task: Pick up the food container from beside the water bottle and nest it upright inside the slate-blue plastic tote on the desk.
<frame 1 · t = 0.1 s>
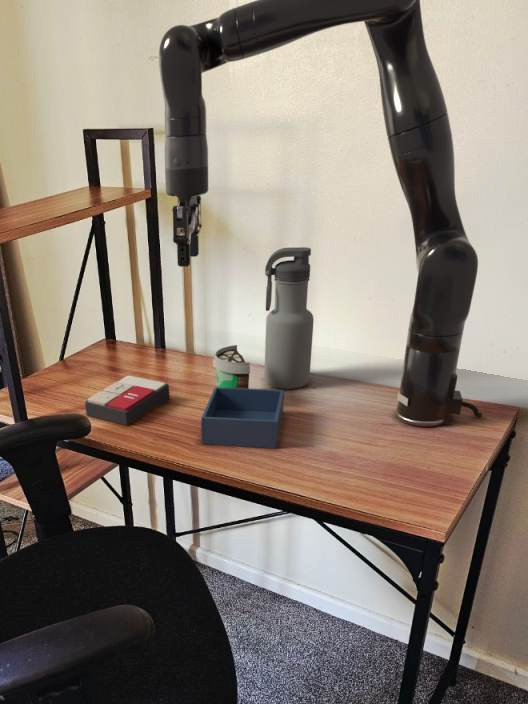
hand: (188, 261, 131), 29 cm above the table, tool pointing down, fingers open, 8 cm apart
calculator: (128, 408, 148), on the table
water bottle: (285, 383, 156), on the table
food container: (227, 401, 148), on the table
tote: (243, 429, 136), on the table
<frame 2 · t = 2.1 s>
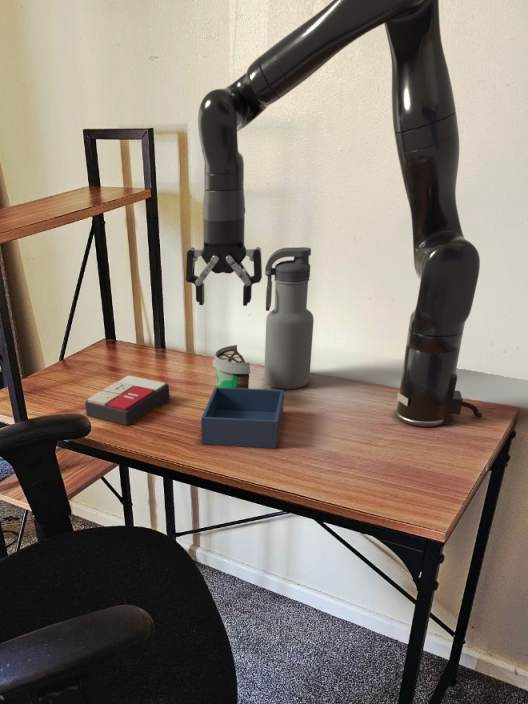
hand: (223, 304, 138), 20 cm above the table, tool pointing down, fingers open, 8 cm apart
nothing on the table moved.
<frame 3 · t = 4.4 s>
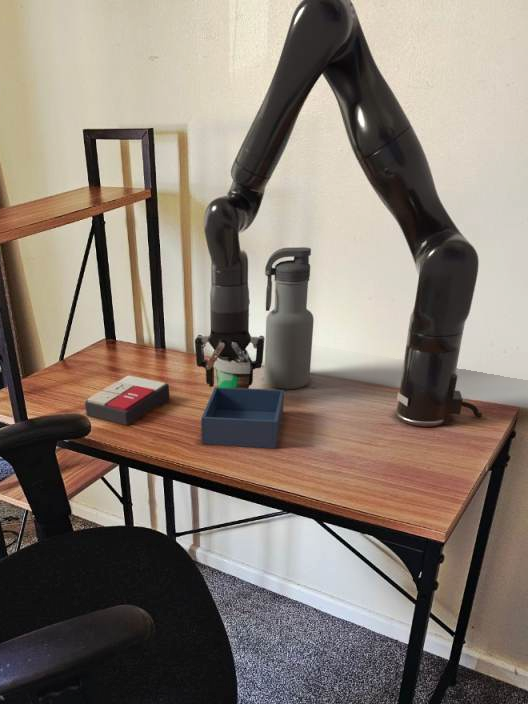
hand: (229, 386, 146), 3 cm above the table, tool pointing down, fingers closed on food container, 7 cm apart
food container: (227, 401, 148), on the table, touching gripper
everything else where it was.
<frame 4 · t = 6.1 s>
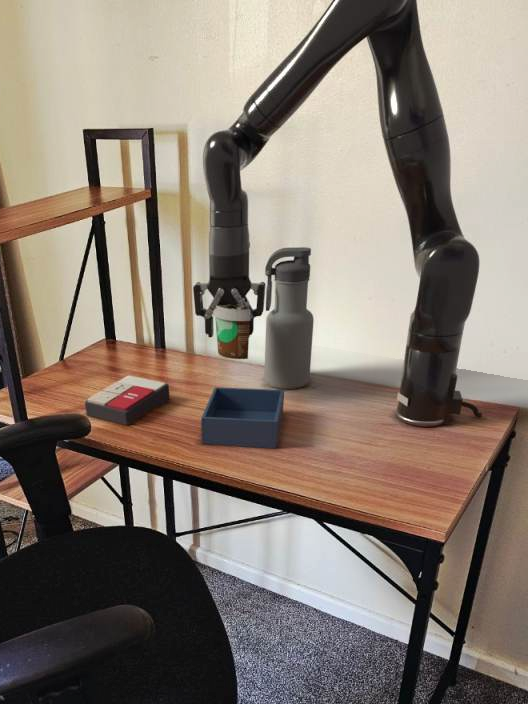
hand: (229, 336, 141), 14 cm above the table, tool pointing down, fingers closed on food container, 7 cm apart
food container: (227, 353, 143), point 10 cm above the table, touching gripper
everything else where it was.
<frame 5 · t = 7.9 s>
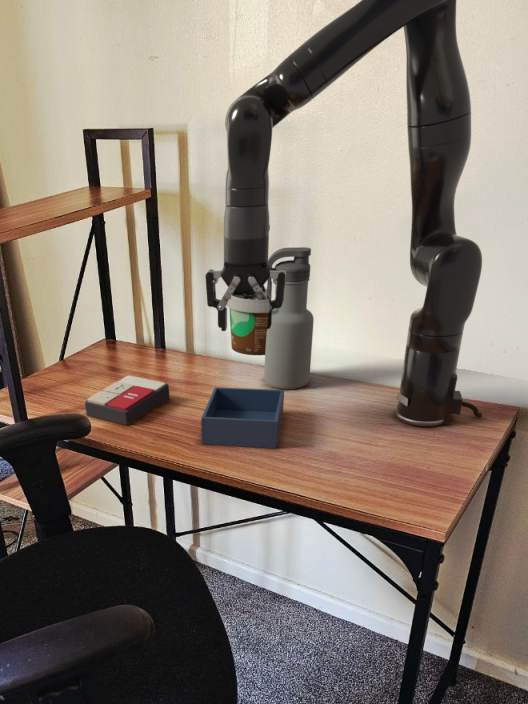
hand: (244, 330, 127), 19 cm above the table, tool pointing down, fingers closed on food container, 7 cm apart
food container: (242, 349, 129), point 15 cm above the table, touching gripper
everything else where it was.
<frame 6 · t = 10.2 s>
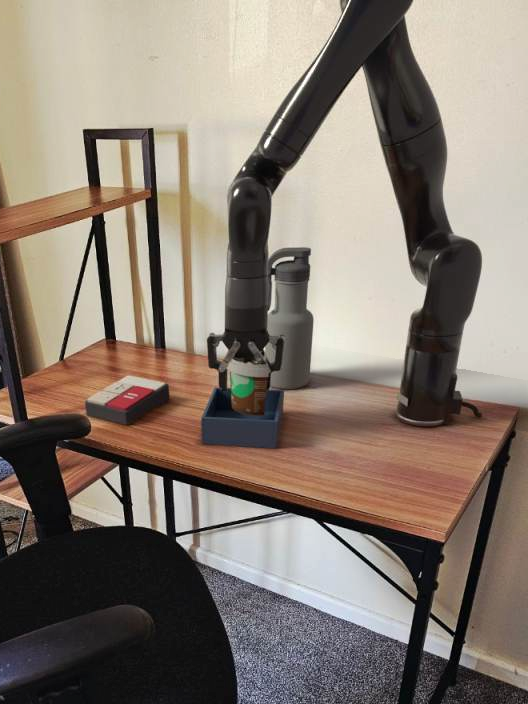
hand: (244, 390, 132), 8 cm above the table, tool pointing down, fingers closed on food container, 7 cm apart
food container: (242, 407, 134), point 4 cm above the table, touching gripper
everything else where it was.
when the fingers open (4 cm above the table, at t = 11.8 s): food container stays where it is, resting on tote.
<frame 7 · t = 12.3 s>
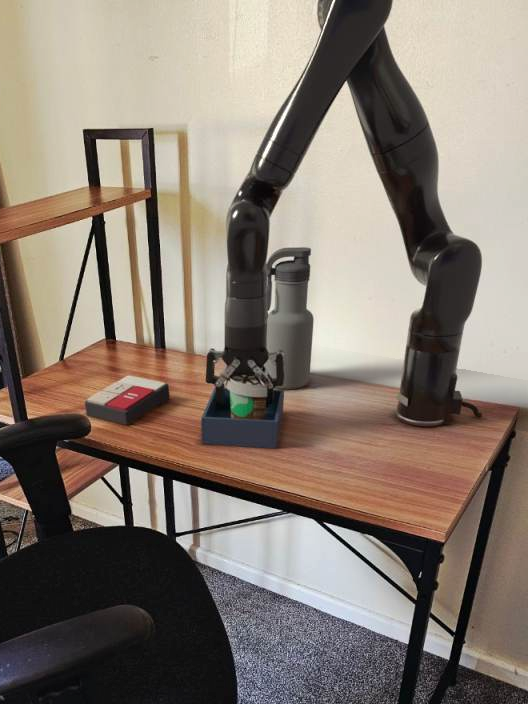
hand: (244, 404, 133), 5 cm above the table, tool pointing down, fingers open, 8 cm apart
food container: (241, 426, 136), point 1 cm above the table, touching tote
everything else where it was.
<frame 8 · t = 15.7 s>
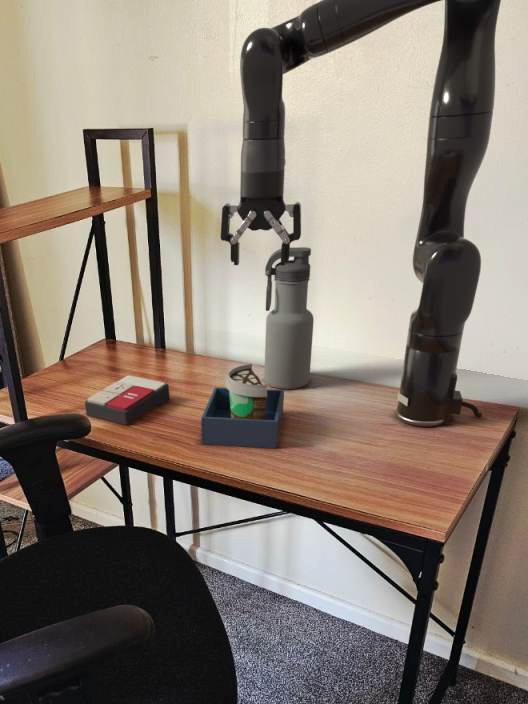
hand: (259, 264, 131), 28 cm above the table, tool pointing down, fingers open, 8 cm apart
nothing on the table moved.
at the end: food container 0.4 cm off-centre in the tote, point 0.6 cm above the tote's base; food container tilted 0°; the gripper is holding nothing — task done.
